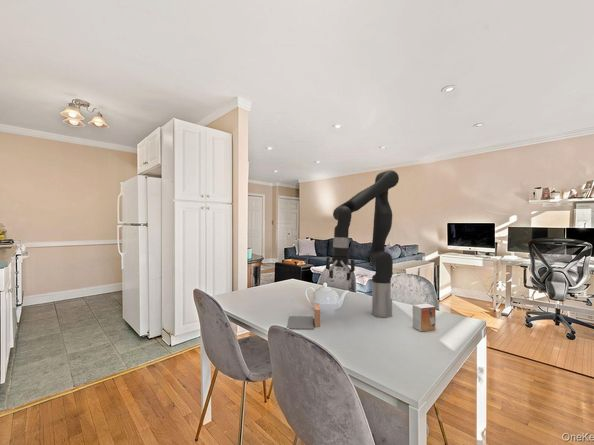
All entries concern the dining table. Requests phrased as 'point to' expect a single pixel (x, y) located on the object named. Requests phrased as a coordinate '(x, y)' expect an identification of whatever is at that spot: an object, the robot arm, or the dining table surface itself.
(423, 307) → the small box
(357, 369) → the dining table surface
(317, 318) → the tile
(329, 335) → the dining table surface
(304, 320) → the felt mat
